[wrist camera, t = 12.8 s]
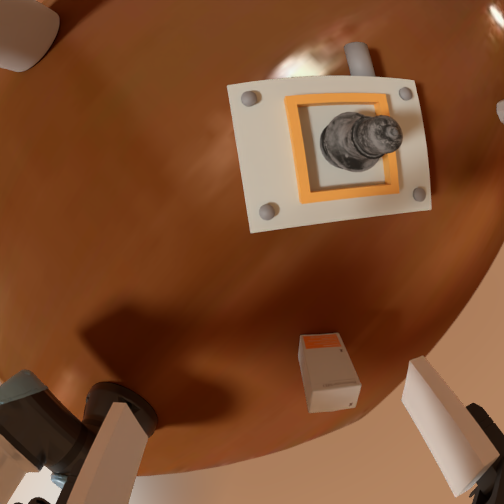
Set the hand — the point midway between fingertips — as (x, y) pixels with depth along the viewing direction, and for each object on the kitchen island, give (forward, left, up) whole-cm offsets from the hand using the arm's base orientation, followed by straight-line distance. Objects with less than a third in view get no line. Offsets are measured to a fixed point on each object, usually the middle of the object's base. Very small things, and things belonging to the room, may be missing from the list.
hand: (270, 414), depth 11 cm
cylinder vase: (-33, +44, -26) cm, 60 cm away
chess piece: (+10, +12, -21) cm, 26 cm away
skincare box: (+6, -15, -26) cm, 31 cm away
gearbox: (+10, +14, -25) cm, 31 cm away
